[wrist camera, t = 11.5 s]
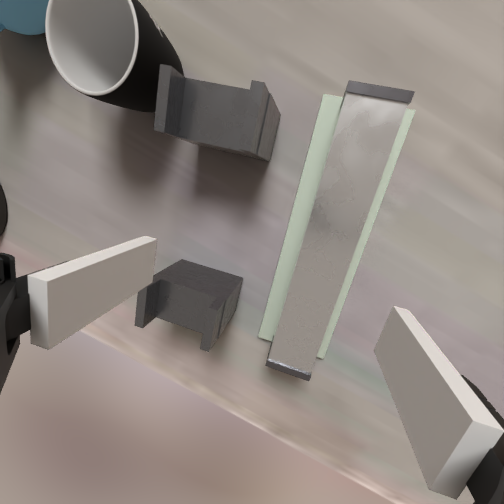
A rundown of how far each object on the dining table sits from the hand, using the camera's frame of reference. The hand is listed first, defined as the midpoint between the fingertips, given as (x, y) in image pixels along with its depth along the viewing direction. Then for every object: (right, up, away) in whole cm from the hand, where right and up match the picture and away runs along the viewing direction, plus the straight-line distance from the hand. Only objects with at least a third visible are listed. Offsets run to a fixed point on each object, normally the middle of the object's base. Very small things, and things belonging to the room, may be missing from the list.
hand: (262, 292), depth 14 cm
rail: (+8, +3, +16) cm, 18 cm away
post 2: (-7, -2, +22) cm, 23 cm away
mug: (-13, +23, +17) cm, 31 cm away
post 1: (-2, +16, +16) cm, 23 cm away
